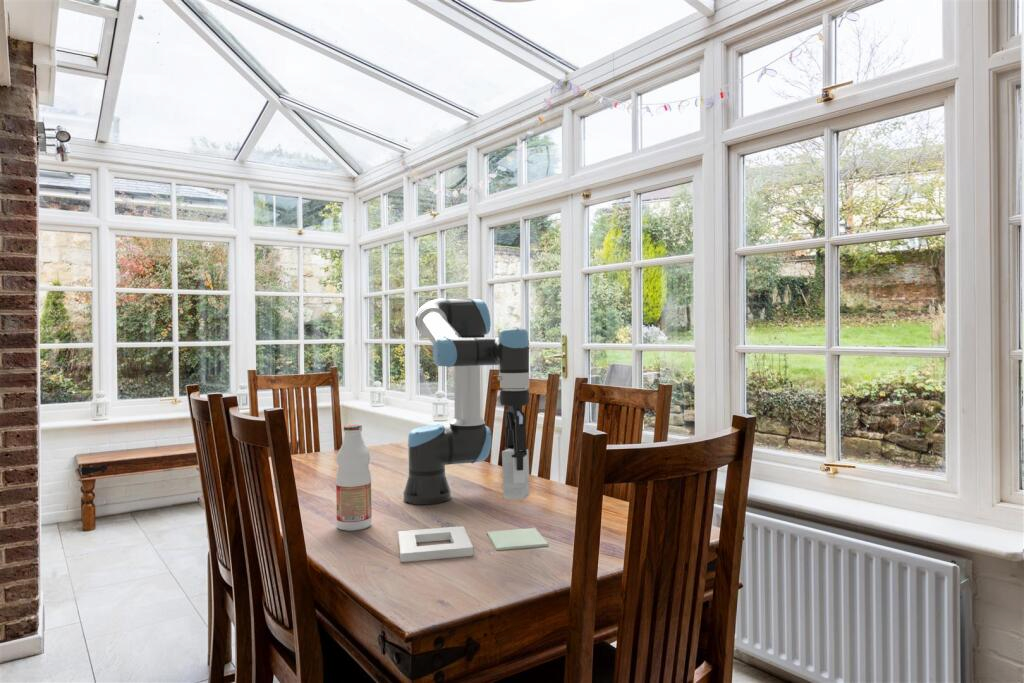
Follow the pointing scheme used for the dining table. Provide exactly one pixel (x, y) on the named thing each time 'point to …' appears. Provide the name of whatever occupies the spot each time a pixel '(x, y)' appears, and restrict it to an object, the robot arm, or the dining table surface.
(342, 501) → the fruit juice
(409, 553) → the white frame
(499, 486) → the dining table surface
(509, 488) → the skincare box
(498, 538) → the pad
